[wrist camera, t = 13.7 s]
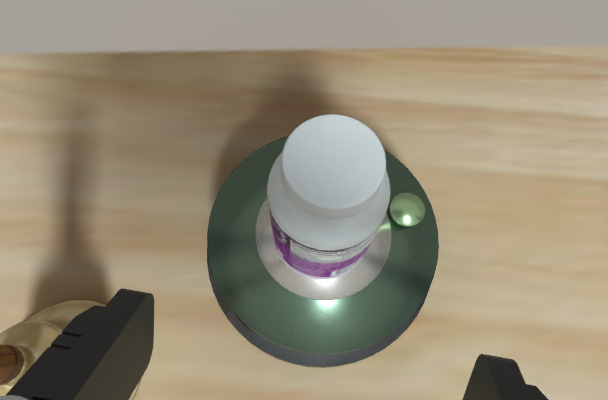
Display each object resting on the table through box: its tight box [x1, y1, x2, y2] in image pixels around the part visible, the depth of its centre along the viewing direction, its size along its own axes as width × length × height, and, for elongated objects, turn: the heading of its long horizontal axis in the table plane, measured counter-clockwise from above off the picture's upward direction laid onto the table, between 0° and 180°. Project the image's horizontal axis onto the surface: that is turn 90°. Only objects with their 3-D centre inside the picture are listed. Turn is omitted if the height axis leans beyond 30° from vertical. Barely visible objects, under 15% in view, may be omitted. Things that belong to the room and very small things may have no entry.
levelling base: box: [207, 136, 439, 368], centre depth 29 cm, size 14×14×4 cm
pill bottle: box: [267, 114, 390, 280], centre depth 23 cm, size 5×5×10 cm
